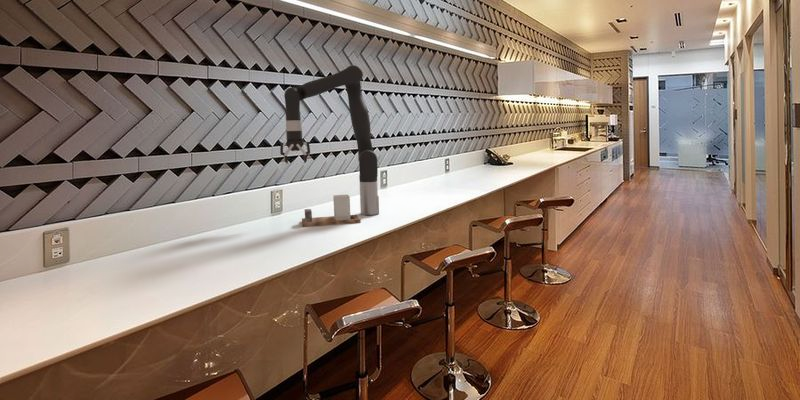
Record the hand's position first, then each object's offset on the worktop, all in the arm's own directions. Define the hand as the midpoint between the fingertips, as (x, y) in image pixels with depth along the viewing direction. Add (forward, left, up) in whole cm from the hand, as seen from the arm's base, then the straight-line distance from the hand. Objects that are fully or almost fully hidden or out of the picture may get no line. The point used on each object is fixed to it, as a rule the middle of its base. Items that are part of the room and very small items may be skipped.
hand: (296, 163), depth 218 cm
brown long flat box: (-14, +14, -28) cm, 34 cm away
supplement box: (-20, +13, -28) cm, 37 cm away
